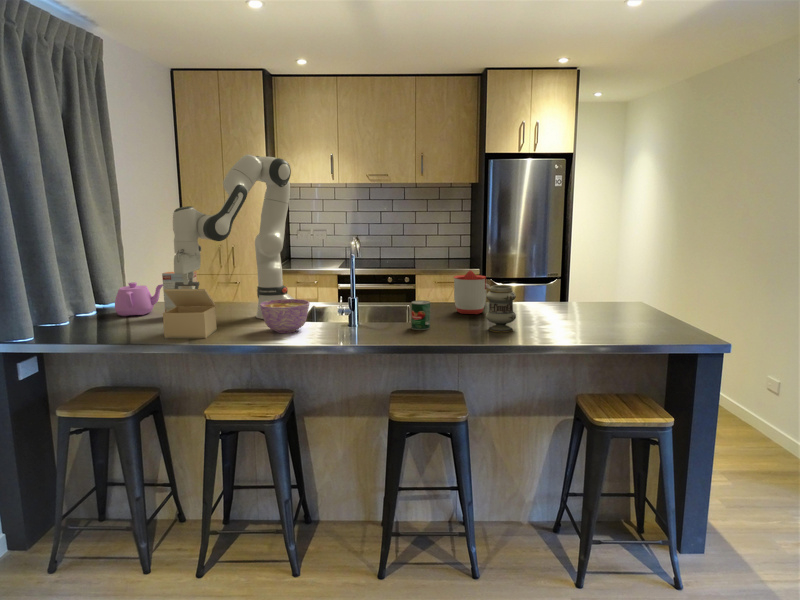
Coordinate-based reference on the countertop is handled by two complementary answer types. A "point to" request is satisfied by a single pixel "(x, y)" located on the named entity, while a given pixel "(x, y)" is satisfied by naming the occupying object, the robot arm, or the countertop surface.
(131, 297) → the teapot
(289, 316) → the bowl of food
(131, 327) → the countertop surface
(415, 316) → the canned tomato
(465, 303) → the citrus juicer
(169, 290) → the wooden box lid
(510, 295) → the apothecary jar
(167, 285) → the cracker box
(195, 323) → the open wooden box
